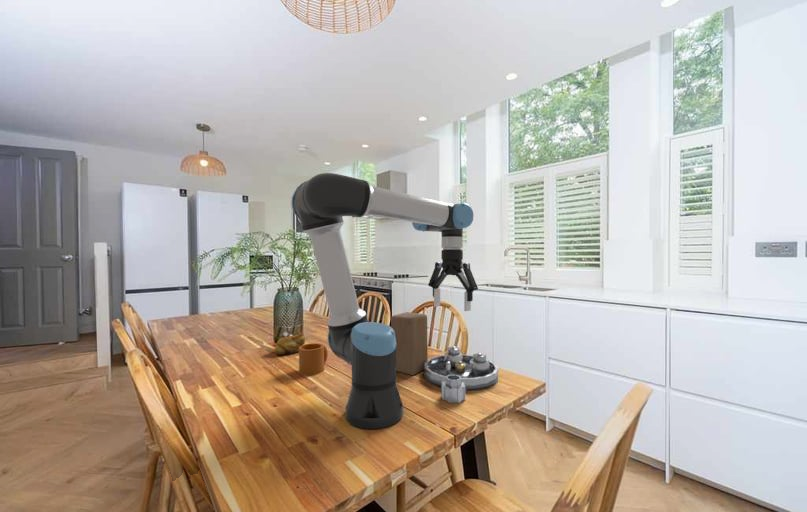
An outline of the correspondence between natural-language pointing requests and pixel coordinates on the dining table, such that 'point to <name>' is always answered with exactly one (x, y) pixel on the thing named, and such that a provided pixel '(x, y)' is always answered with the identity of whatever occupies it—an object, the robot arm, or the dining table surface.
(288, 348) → the bread roll
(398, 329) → the wooden block
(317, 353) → the mug
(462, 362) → the carrier
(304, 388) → the dining table surface
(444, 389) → the gear
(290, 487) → the dining table surface
